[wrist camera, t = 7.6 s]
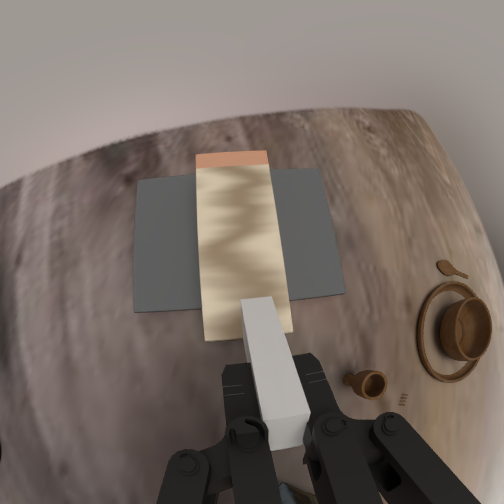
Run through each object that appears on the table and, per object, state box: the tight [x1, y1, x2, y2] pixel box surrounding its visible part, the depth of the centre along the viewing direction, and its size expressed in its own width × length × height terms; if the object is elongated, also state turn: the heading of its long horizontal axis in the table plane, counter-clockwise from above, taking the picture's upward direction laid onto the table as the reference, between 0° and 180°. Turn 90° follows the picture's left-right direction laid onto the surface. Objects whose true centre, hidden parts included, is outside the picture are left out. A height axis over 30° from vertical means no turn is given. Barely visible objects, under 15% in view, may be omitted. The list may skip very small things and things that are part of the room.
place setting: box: [344, 260, 492, 406], centre depth 24 cm, size 18×20×6 cm
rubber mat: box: [133, 169, 346, 313], centre depth 28 cm, size 20×14×1 cm
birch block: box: [196, 151, 293, 342], centre depth 24 cm, size 6×6×15 cm
